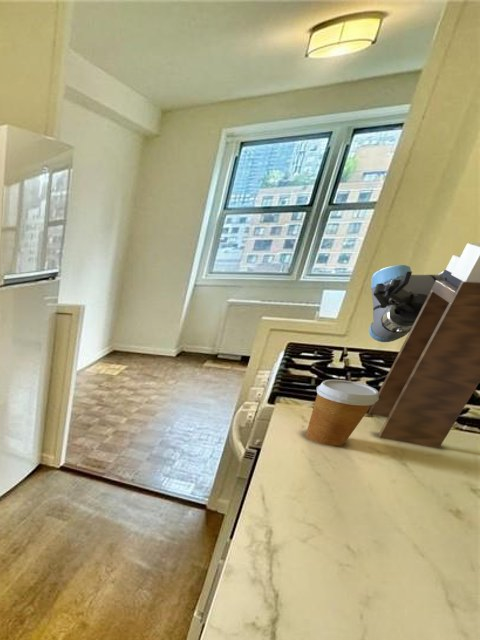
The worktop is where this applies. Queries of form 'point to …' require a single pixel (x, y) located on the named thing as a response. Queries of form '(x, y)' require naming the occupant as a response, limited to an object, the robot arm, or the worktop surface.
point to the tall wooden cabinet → (433, 368)
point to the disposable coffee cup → (339, 410)
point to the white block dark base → (464, 266)
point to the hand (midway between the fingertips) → (450, 279)
